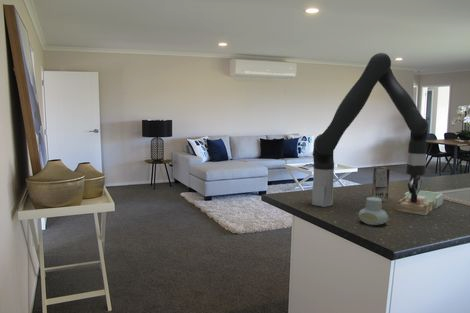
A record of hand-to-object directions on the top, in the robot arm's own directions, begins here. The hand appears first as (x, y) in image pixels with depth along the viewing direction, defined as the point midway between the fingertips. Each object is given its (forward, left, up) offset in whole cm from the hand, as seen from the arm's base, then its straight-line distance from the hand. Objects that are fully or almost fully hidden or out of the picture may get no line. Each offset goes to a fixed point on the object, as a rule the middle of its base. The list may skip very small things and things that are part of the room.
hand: (413, 202), depth 167 cm
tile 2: (+9, 0, -1) cm, 9 cm away
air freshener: (-29, +7, -4) cm, 30 cm away
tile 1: (+4, 0, -1) cm, 4 cm away
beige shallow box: (+4, 0, -4) cm, 6 cm away
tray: (+18, 0, -4) cm, 18 cm away
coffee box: (+13, +19, -4) cm, 23 cm away
